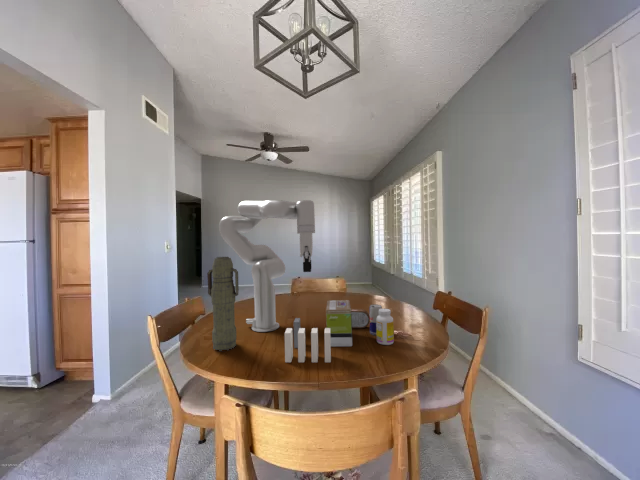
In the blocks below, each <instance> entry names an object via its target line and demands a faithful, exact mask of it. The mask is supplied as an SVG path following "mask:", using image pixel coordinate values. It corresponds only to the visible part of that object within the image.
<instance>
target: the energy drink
mask: <svg viewBox="0 0 640 480" xmlns="http://www.w3.org/2000/svg"><path fill="white" fill-rule="evenodd" d="M368 309H369V312H368V314H369V316H370V322H369V334H370V335H372V336H377V333H376V318H377V316H379V309H383V306H382V305H380V304H373V303H372V304H370V305H369V307H368Z"/></svg>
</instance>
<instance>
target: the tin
mask: <svg viewBox="0 0 640 480" xmlns="http://www.w3.org/2000/svg"><path fill="white" fill-rule="evenodd" d="M351 313H352V329H364V328H366V327H368V326H369V325H370V314H369V312H368V311H367V310H365V309H364V308H351Z"/></svg>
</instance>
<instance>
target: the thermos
mask: <svg viewBox="0 0 640 480" xmlns="http://www.w3.org/2000/svg"><path fill="white" fill-rule="evenodd" d="M212 262H213V263H212V265H211V266H212V267H211V268H212V269H208V272H207V276H206V277H207V289H208V290H207V295H208V296H209V297H210V298H211V304H212V310H213V311H212V316H213V322H212V323H213V329H212V331H211V333H212V335H211V336H212V338H211V339H212V341H211V342H212V344H213V345H212V349H213V350H214V349H215V350H219V351H218V352H223V351H222V350H227V351H230V350H229V349H231V350H233V349H235V348H236V347H237V327H236V324H235V323H236V322H235V321H236V320H235V318H236V317H235V303H236V297H237V296H239V287H240V286H239V271H238V270H237V268H234V263H233V261H232V258H231V257H229V256H217V257H215V258H214V259H213V261H212ZM234 280H235V283H234ZM235 346H236V347H235ZM234 347H235V348H234ZM232 348H233V349H232ZM215 350H214V351H215Z"/></svg>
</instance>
